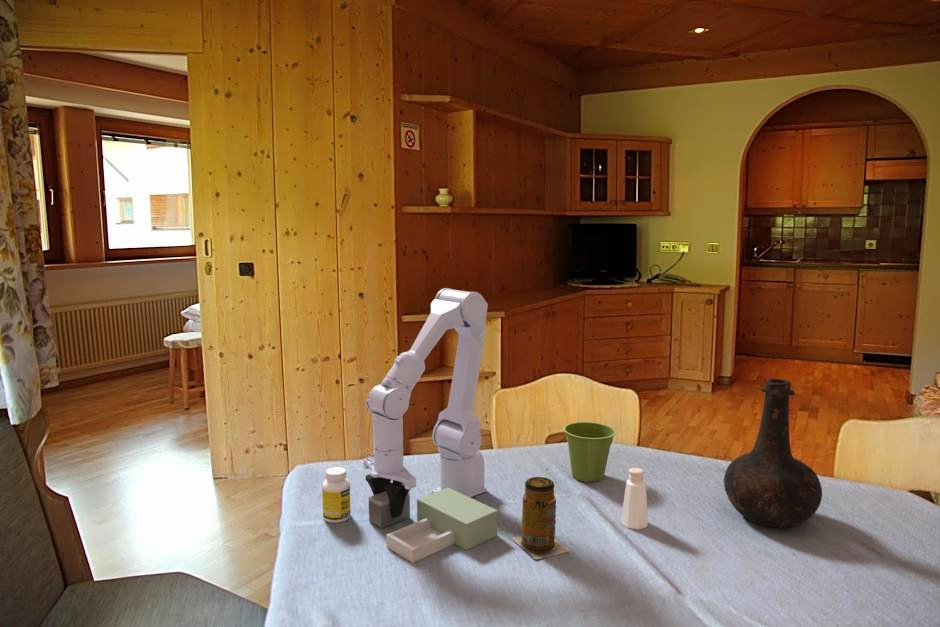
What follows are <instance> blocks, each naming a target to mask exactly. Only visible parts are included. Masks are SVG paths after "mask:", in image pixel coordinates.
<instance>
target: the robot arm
mask: <svg viewBox="0 0 940 627" xmlns="http://www.w3.org/2000/svg"><path fill="white" fill-rule="evenodd" d="M434 297H435V298H434V299H433V300H432V302H431V303H430V313H429V315H428V317H427V319H426V321H425V323H424V324H423V326H422V328H421V329H420V331H419V333H418V335H417V337H416V339H414V342H413V344H412V345H411V348H410V349H409V350H407V351H404V352H401V353H400V354H399V355H398V356H396V357H395V359H394V360H393V361H394V363H393V365H392V366H391V368H390V369H389V371H388V372H387V374H386V376H385V377H384V378H383V379H382V381H381V383H380V384H378V385H376V386H374V387H373V388H371V390H370V391H369V393H368V396H367V399H366V400H365V406H366V408H367V410H368V411H369V412H370V418H371V420H372V432H373V433H372V439H373V440H372V442H373V445H372V446H373V450H372V451H373V456H368V457H365V458H363V468H364V469H365V470H370V471H369V474H367V475H365V481H366V482H367V484H368V486H369V487H370V489H371V492H372V496H373V495H376V494H379V493H382V492H384V491H386V492H387V495H388V499H389V505H390V513H391V517H392V518H395V517H398V516H401V515H402V511H403V507H404V503H405V500H406V497H407V495H408V493H410V491H411V489H414V488H416V487H417V478H416V476H414V475H412V473H410V471H409V469H407V468H406V467H405V465H404V434H403V432H404V429H403V426H404V425H403V424H404V423H403V420H404V419H403V416H404V415H405V413H406V412H407V411H408V409H409V405H410V398H411V396H412V395H411V394H412V390H413V389H414V387H415V386H416V384H417V383H418V381H419V380H420V379H421V377H422V375H423V374H424V372H425V370H426V364H425V360H426V358H427V357H428V356H429V354H430V353H431V352H432V350H433V349H434V347H436V345H437V344H438V342H439V341H440V339H442V338H443V336H444V335H445V333H446V331H447V330H452V329H454V331H456V332H457V334H458V340H457V341H458V342H457V348H456V354H455V360H454V365H453V373H452V379H451V386H450V390H449V397H448V403H447V407H446V408H445V409H443V410H442V411H440V412H439V413H438V417H437V418H438V419H437V421H436V423H435V425H434V427H433V430H432V434H431V435H432V436H431V437H432V441H433V443H434V445H436V446H437V452H439V472H440V473H439V476H440V477H439V479H440V480H439V486H438V487H436V488H433V489H431V493H435V492H438V491H440V490H443V489H445V488H450V489H452V490H454V491H457V492H459V493H461V494H463V495H465V496H467V497H470V498H473V497H475V496H477V495H480V494H483V493H484V492H487V491H488V488H487V487H485V474H486V473H485V471H486V470H485V467H486V466H485V459H484V457H483V454H482V452H481V451H480V448H481V445H482V440H483V438H482V434H481V433H482V432H481V428H482V423H481V420H480V419H479V418H478V416H477V415H476V413H475V412H474V409H475V408H474V407H475V400H476V396H477V389H478V384H479V378H480V377H479V376H480V370H481V363H482V357H483V352H484V346H485V341H486V340H485V338H486V335H487V334H486V333H487V325H486V321H487V320H486V319H487V314H488V313H487V312H488V306H489V304H488V302H487V301H486V300H485V298H484V297H483V296H482V294H481V293H479V292H477V291H466V290H460V289H459V290H458V289H452V288H450V287H449V288H448V287H443V288H442V289H440V290H439V291H438V292H437V293H436V295H435V296H434Z"/></svg>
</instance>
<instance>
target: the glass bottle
mask: <svg viewBox="0 0 940 627" xmlns="http://www.w3.org/2000/svg"><path fill="white" fill-rule="evenodd" d="M791 385H792V382H791V381H789V380H786V379H779V378H769V379H766V380H765V386H764V387H761V388H760V389H759V390H760V391H761V392H762V393H764V401H763V408H762V412H761V413H762V414H761V419H760V425H759V429H758V433H757V436H756V439H755V444H754V446H753V447H752V449H751V450H750V452H748V453H744V454H742V455H740V456H738V457H736V458H735V459H733V460H732V461H731V462H730V463H729V464H728V466H727V467H726V470H725V473H724V476H723V487H724V491H725V494H726V496H727V498H728V501H729V502H730V504H731V505H732V507H734V508H735V509H736V511H737V512H738V513H739V514H741V516H743V517H745V519H748V520H750V521H752V522H754V523H756V524H758V525H762V526H766V527H771V528H790V527H791V528H792V527H796V526H799V525H801V524H803V523H805V522H806V521H808V520H809V519H810V518H812V516H813V515H815V513H816V512H817V510H818V509H819V507H820V505H821V502H822V498H823V489H822V488H823V487H822V484H821V481H820V479H819V477H818V475H817V473H816V471H814V470H813V469H812V468H811V467H810V466H809V465H807V464H806V463H805V462H803V461H801V460H800V459H797V458H795V457H793V453H792V448H791V443H790V441H791V440H790V397H791V396H794V395H795V390H793V389H791Z"/></svg>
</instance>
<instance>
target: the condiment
mask: <svg viewBox="0 0 940 627" xmlns="http://www.w3.org/2000/svg"><path fill="white" fill-rule="evenodd" d="M524 483H525V484H524V494H523V496H522V512H521V513H522V516H521V517H522V518H521V520H522V521H521V522H522V523H521V536H515V537H512V538H511V540H512V541H513V542H514V543H515V544H516V545H518V547H520V548H521V549H522V550H524V551H525V552H526V554H528V555H530V557H532V558H533V559H534V560H541V559H545V558H551V557H553V556H555V557H556V556H558V555H562V554H565V553H569V552H570V550H569V549H568V548H567V547H566V546H564V545H563V544H562V543H561V542H559V540H556V539H555V538H556V536H555V535H556V517H557V515H556V512H557V506H556V505H557V499H556V496H555V483H554V481H553V480H552V479H550V478H548V477H543V476H534V477H533V476H532V477H529V478H528V479H526V481H525V482H524Z"/></svg>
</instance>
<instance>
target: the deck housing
mask: <svg viewBox="0 0 940 627" xmlns="http://www.w3.org/2000/svg"><path fill="white" fill-rule="evenodd" d="M416 507H417V508H416V511H417V512H416V519H417V521H416V522H413V523H411V524H408V525H406V526H403V527H402V528H399V529H395V530H394V531H391V532H389V533H386V535H385V537H386V548H388V549H389V550H391V551H392V552H394V553H395V554H398V555H399V556H401V557H402V558H404V559H406V560H407V561H409V562H410V563H412V564H413V563H415V562H418V561H420V560H422V559H424V558H426V557H428V556H431V555H433V554H436V553H437V552H440V551H442V550H444V549H446V548H448V547H450V546H453V545H456V546H459V547H460V548H462V549H464V551H465V550H466V551H468V550H470V549H472V548H473V547H475V546H477V545H480V544H482V543H485V542H486V541H488V540H490V539H492V538H495V537H496V536H498V509H496V508H493V507H492V506H489V505H487V504H484V503H482V502H480V501H478V500H476V499H474V498H473V497H471V498H470V497H467V496H465V495H463V494H461V493H459V492H457V491H454V490H452V489H450V488H445V489H443V490H440V491H438V492H435V493H433V492H431V493H430V494H427V495H425V496H422V497H419V498H417V499H416Z"/></svg>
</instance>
